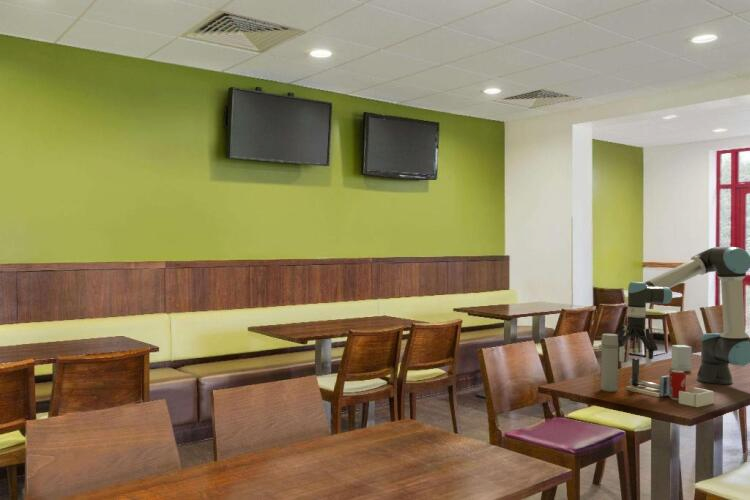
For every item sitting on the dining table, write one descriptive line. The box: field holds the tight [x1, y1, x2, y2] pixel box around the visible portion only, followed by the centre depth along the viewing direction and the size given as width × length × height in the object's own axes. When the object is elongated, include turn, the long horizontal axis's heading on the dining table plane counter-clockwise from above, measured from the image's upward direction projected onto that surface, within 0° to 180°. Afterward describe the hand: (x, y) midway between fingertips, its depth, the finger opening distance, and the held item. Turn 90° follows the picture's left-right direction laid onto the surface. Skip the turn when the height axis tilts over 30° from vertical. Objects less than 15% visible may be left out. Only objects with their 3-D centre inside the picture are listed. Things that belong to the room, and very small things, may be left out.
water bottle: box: [595, 333, 619, 393], centre depth 290 cm, size 9×8×25 cm
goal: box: [678, 387, 715, 408], centre depth 269 cm, size 12×8×5 cm, turn 124°
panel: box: [625, 385, 668, 398], centre depth 287 cm, size 8×16×2 cm, turn 34°
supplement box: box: [670, 344, 692, 372], centre depth 339 cm, size 7×7×13 cm
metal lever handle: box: [628, 357, 669, 397], centre depth 287 cm, size 18×7×13 cm, turn 34°
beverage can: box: [668, 369, 687, 401], centre depth 276 cm, size 6×6×12 cm
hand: (634, 363), depth 292 cm, fingers open, 13 cm apart
